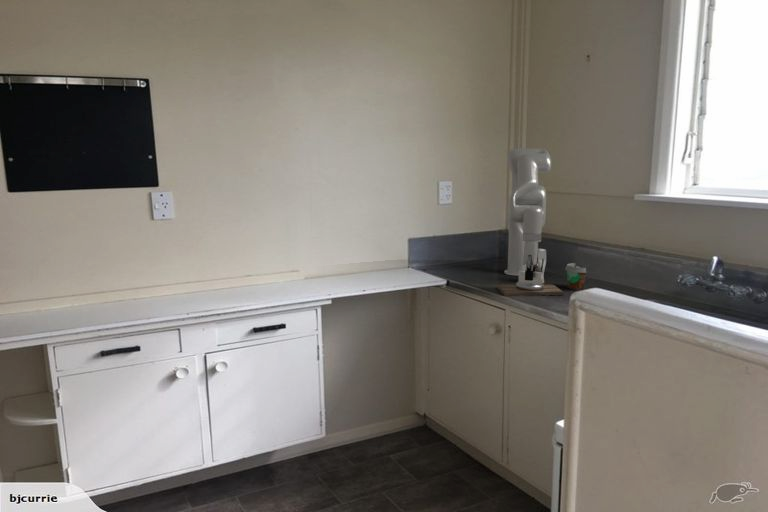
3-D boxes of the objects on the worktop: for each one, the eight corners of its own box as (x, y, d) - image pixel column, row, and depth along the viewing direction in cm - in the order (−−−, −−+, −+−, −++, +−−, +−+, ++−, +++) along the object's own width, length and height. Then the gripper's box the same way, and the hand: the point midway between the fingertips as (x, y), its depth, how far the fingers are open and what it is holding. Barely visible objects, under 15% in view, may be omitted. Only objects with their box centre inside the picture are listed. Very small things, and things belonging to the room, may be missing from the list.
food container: (560, 285, 268) (561, 263, 266) (573, 285, 268) (574, 262, 267) (570, 291, 256) (572, 268, 254) (585, 291, 256) (586, 268, 255)
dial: (513, 288, 252) (514, 273, 251) (519, 283, 262) (519, 268, 261) (541, 291, 248) (541, 275, 247) (545, 286, 258) (545, 270, 257)
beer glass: (545, 284, 270) (547, 251, 267) (529, 283, 271) (530, 250, 269) (544, 281, 277) (546, 248, 274) (528, 280, 278) (530, 248, 275)
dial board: (497, 287, 263) (497, 284, 262) (553, 287, 263) (553, 284, 263) (504, 295, 248) (504, 291, 248) (563, 295, 248) (563, 291, 248)
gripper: (525, 234, 261) (523, 273, 264) (520, 239, 245) (518, 281, 248) (543, 235, 259) (541, 274, 261) (539, 240, 243) (537, 282, 245)
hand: (530, 278), depth 255 cm, fingers open, 9 cm apart
